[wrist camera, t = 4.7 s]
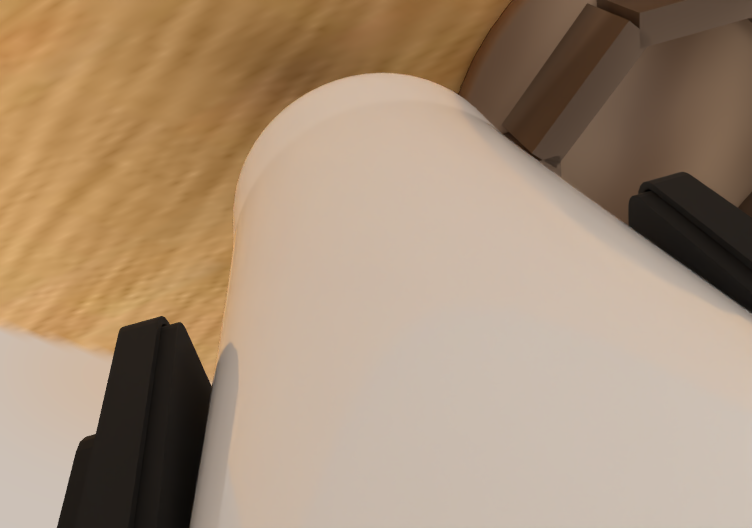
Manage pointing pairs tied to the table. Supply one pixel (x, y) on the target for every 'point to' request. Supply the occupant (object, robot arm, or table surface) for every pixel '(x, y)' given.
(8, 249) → the table surface
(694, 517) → the drinking glass
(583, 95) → the glass holder
